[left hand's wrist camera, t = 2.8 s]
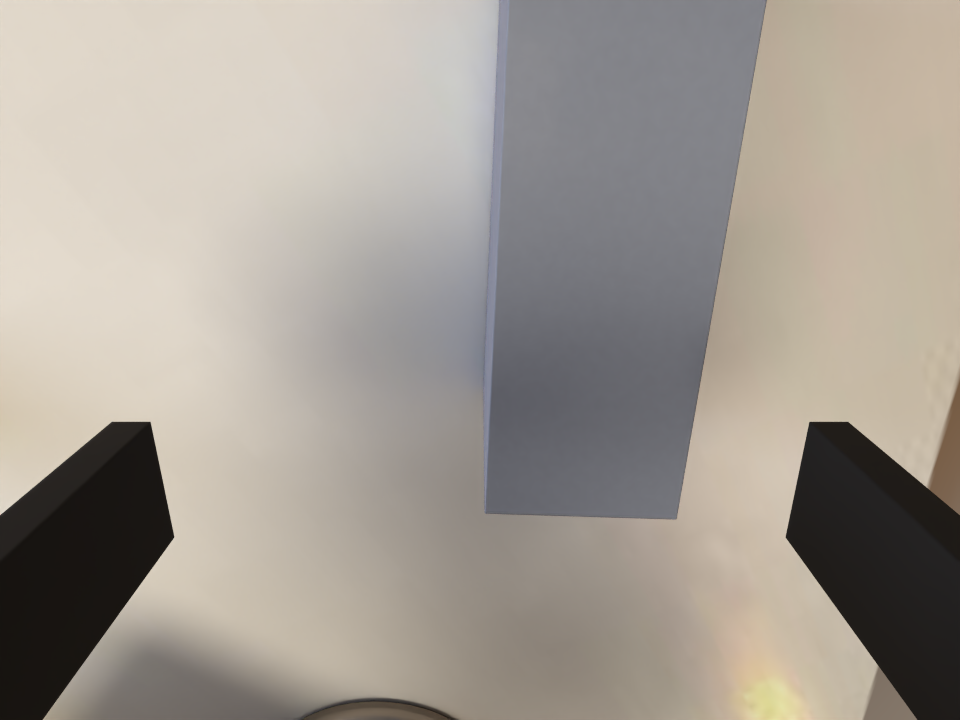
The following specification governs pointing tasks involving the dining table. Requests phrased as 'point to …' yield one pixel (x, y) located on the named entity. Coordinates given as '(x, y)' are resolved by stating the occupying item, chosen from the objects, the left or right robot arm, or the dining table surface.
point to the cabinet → (607, 244)
